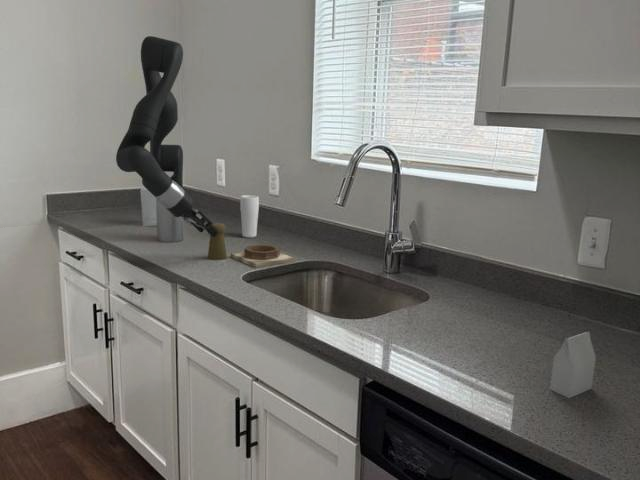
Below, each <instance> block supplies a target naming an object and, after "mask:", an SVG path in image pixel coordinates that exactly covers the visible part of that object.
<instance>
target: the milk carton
mask: <svg viewBox="0 0 640 480" xmlns="http://www.w3.org/2000/svg"><path fill="white" fill-rule="evenodd" d="M590 333H591V332H590V331H585V332H582V333H579V334H576V335H573V336H569V337H567V338H565V339H564V341H563V344H562V345H561V347H560V349H559V350H558V351H557V353H556V354H555V356H554V358H553V363H552V371H551V377H550V385H549V390H550V391H552V392H555V393H557V394H559V395H561V396H562V397H563V396H564V397H566V398H567V399H570V398H573V397H575V396H577V395H580V394H582V393H584V392H587V391H590V390H591V389H592V386H593V379H594V373H595V366H596V358H597V357H596V354H595V349H594V346H593V344H592V340H591V334H590Z"/></svg>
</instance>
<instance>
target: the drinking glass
mask: <svg viewBox="0 0 640 480" xmlns="http://www.w3.org/2000/svg"><path fill="white" fill-rule="evenodd" d="M239 203H240V205H239V209H240V219H241V234H242V237H243V238H253V239H254V238H256V237H257V235H258V234H257V233H258V232H257V231H258V220H259V209H260V197H259V196H258V195H252V194H246V195H244V194H243V195H241V196H240V202H239Z"/></svg>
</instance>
